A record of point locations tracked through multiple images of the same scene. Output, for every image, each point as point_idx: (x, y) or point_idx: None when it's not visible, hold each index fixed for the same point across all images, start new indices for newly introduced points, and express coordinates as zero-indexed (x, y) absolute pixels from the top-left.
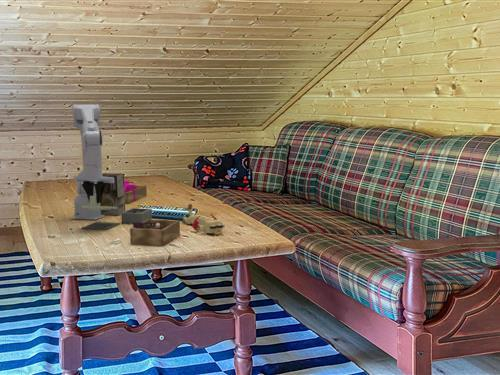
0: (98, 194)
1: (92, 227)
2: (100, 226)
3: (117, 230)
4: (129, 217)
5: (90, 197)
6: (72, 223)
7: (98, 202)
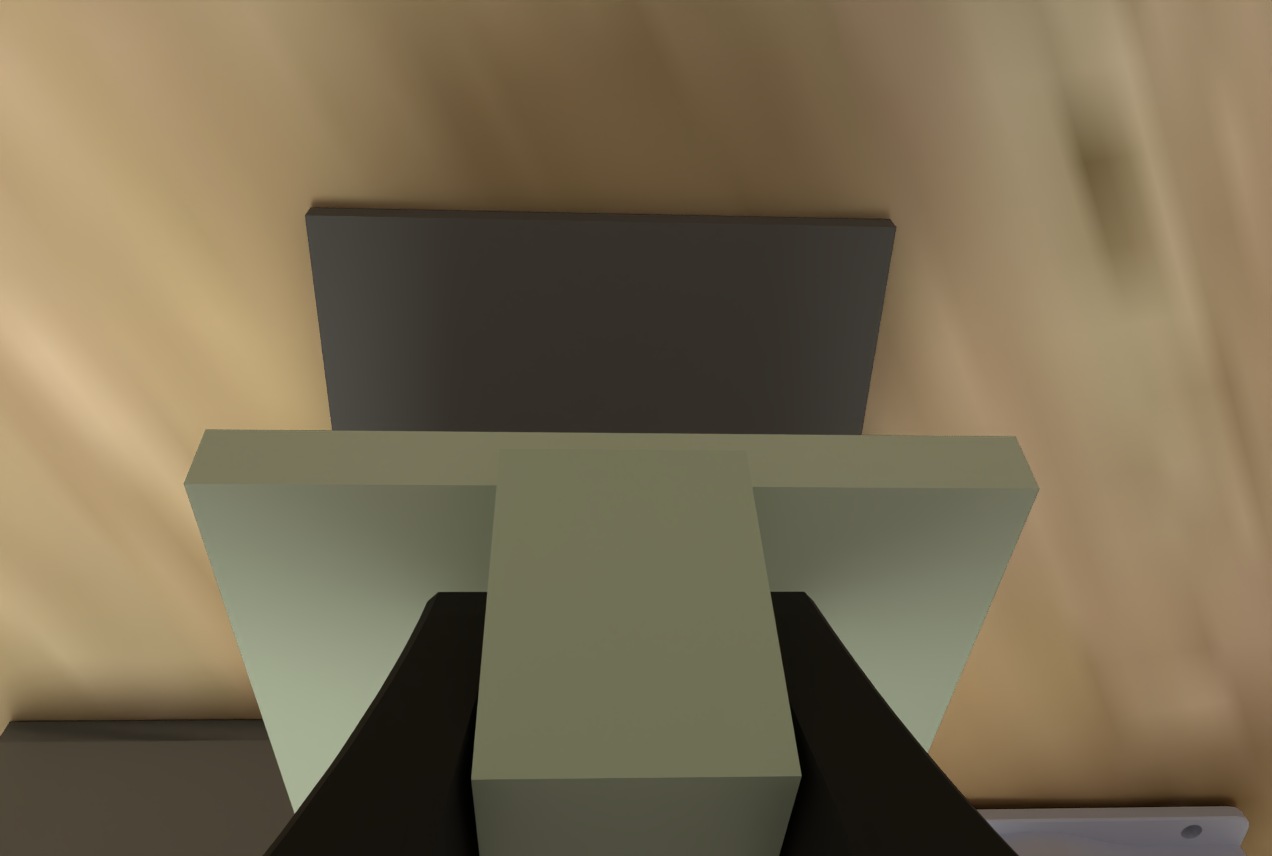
0: (304, 835)
1: (687, 305)
2: (571, 410)
3: (102, 242)
4: (196, 806)
5: (753, 701)
6: (1195, 585)
7: (430, 607)
